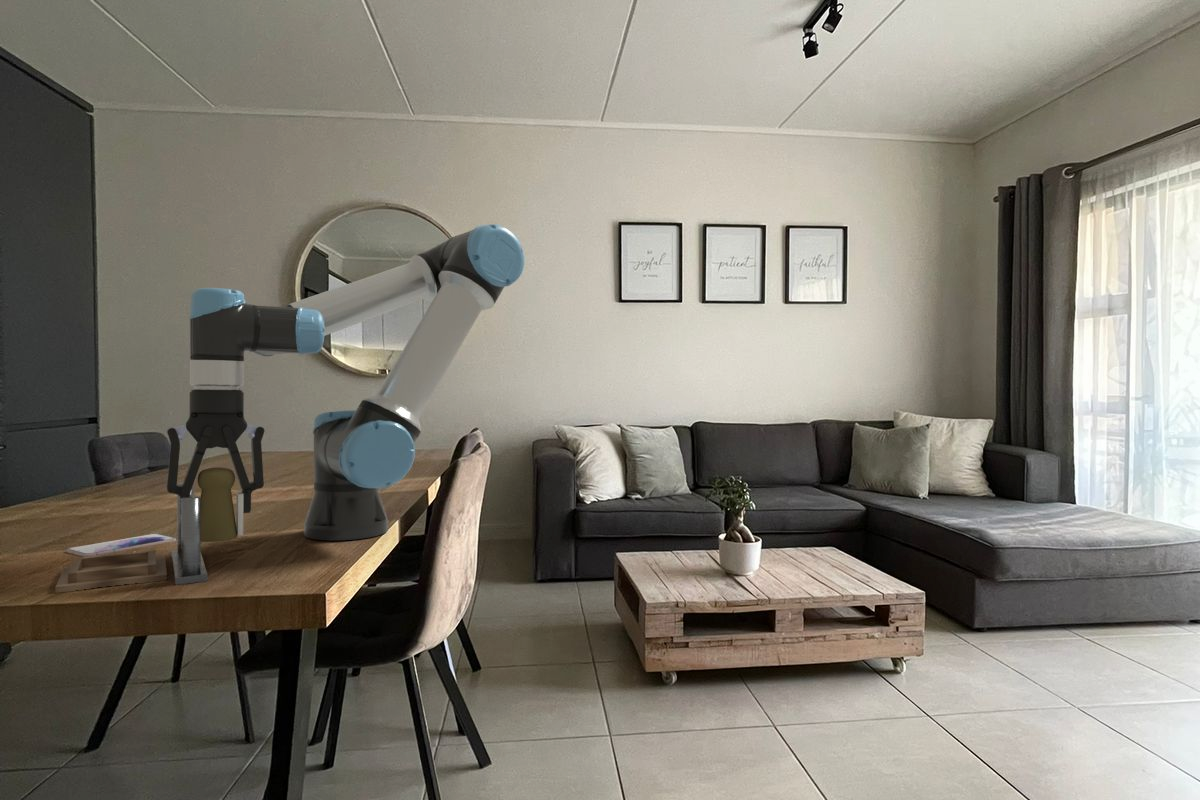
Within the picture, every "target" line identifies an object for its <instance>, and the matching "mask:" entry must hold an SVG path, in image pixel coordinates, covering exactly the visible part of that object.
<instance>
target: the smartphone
mask: <svg viewBox="0 0 1200 800" xmlns="http://www.w3.org/2000/svg"><path fill="white" fill-rule="evenodd" d="M176 541H177V539H176V537H173V536H168V535H163V534H159V533H150V534H145V535H138V536H134V537H126V538H121V539H115V540H110V541H103V542H97V543H92V544H87V545H79V546H74V547H68V548H67V549H66V553H68V554H71V555H76V556H79V557H90V556H101V555H108V554H112V553H117V552H123V551H128V550H134V549H141V548H145V547H150V546H156V545H161V544H167V543H171V542H176Z"/></svg>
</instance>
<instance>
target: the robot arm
mask: <svg viewBox="0 0 1200 800" xmlns="http://www.w3.org/2000/svg"><path fill="white" fill-rule="evenodd" d="M523 251H524V250H523V246H522V244H521V243H520V240H519V239H518V238H517V236H516V235H515V234H514V233H513V232H512V231H511V230H510V229H508V228H506V227H504V226H502V225H498V224H495V223H494V224H481V225H477V227H474V228H473V229H471V230H469V231H466V232H463V233H461V234H457V235H455V236H452V237H451V238H449V239H446V240H445V241H444V242H441V243H440V244H437V245H436V246H434V247H432V248H430V249H428V250H426V251H423V252H421V253H417V254H415V255H413V256H411V258H410V261H409V262H408V263H405V264H402V265H399V266H396V267H393V268H391V269H387V270H384V271H381V272H379V273H376V274H373V275H370V276H366V277H364V278H362V279H358V280H355V281H353V282H350V283H346V284H344V285H342V286H338V287H335V288H332V289H330V290H326V291H323V292H321V293H318V294H315V295H311V296H309V297H306V298H302V299H300V300H297V301H294V302H290V303H288V304H287V305H284V306H271V305H270V306H269V305H255V304H251V303H246V302H247V301H246V300H245V295H244V293H243V292H242V291H241V290H237V289H229V288H222V287H221V288H220V287H203V288H202V287H201V288H196V290H194V291H193V292H192V293H191V300H190V314H189V315H190V316H189V319H188V320H189V355H190V356H189V385H190V386H192V387H193V389H191V391H189V414H188V415H189V416H188V419H187V421H186V422H185V424H184V425H183V424H181V425H179V426H176V427H170V426H169V427H168V428H166V429H167V430H166V432H167V433H166V434H167V435H168V439H169V442H170V446H169V456H168V457H169V458H168V467H167V468H168V469H167V482H166V490H167V492H168V493H169V494H174V495H176V496H177V495H179V496H180V514H181V498H184V497H196V495H195V494H194V495H190V492H191V489H192V486H193V483H194V484H195V481H196V478H197V476H198V471H199V470H200V467H201V464H202V461H203V459H204V456H205V454H206V451H207V449H213V448H222V449H227V452H228V454H229V456H230V457H229V458H230V460H231V462H232V465H233V468H234V471H235V474H236V476H237V480H238V483H239V486H240V488H241V491H237V492H236V494H235V495H236V503H235V504H236V505H235V507H236V511H235V513H236V514H235V516H236V517H235V522H236V529H237V536H244V514H250V513H251V510H252V493H253V492H254V491H256V490H258V489H262V488H263V487H264V484H265V483H264V481H265V479H264V468H263V467H264V465H263V464H264V463H263V449H262V439H263V438H264V435H265V434H264V433H265V428H264V427H262V426H261V425H257V426H256V425H252V424H248V423H247V420H246V419H245V416H244V408H245V405H244V404H245V403H244V401H245V395H244V394H245V392H244V391H243V390H241V388H240V387H243V386H244V385H245V362H244V361H245V357H244V356H245V352H250V353H251V352H252V353H253V354H256V355H259V356H262V357H271V356H272V357H273V356H275V355H284V354H297V355H304V354H305V355H307V354H313V355H314V354H315V355H316V354H318V353H319V352H320V351H321V350H322V348H323V346H324V341H325V336H328V335H331V334H333V333H335V332H339V331H342V330H344V329H347V328H349V327H352V326H355V325H357V324H360V323H362V322H365V321H369V320H371V319H374V318H376V317H379V316H382V315H385V314H387V313H390V312H392V311H395V310H398V309H400V308H401V309H402V308H404V307H407V306H409V305H412V304H414V303H417V302H420V301H422V300H425V301H427V302H428V303H429V302H431V303H430V305H429V306H428V308H427V310H426V311H425V313H424V315H422V318H421V319H420V321H419V323H418V324H417V326H416V327H415V329H414V331H413V333H412V334H411V336H410V337H409V339H408V340H407V342H406V344H405V346H404V347H403V349H402V351H401V353H400V354H399V356H398V358H397V359H396V361H395V363H394V364H393V366H392V368H391V369H390V371H389V372H388V374H387V376H386V377H385V379H384V380H383V382H382V384H381V386H380V387H379V389H378V391H377V392H376V393H375V394H374V395H372V396H368V397H365V398H363V399H362V400H361V402H360V404H359V405H358V407H357V408H356V410H355V409H354V410H353V409H352V410H337V411H326V412H322V413H319V414H317V415H316V416H315V418H314V420H313V429H312V435H313V496H312V499H311V502H310V504H309V509H308V511H307V514H306V517H305V520H304V523H303V535H304V537H306V538H308V539H311V540H316V541H317V540H319V541H348V540H349V541H350V540H361V539H367V538H373V537H378V536H380V535H384V534H387V532H388V531H389V522H388V521H389V520H388V516H387V513H386V509H385V507H384V504H383V500H382V498H381V496H380V491H379V489H383V488H388V487H390V486H393V485H396V484H397V483H399V482H400V481H401V480H402V479H404V477H405V476H407V474H408V473H409V472H410V470H411V469H412V467H413V463H414V461H415V457H416V450H415V444H416V443H417V442H416V441H417V440H418V438H419V437H420V434H421V433H422V426H421V423H420V417H421V415H422V414H423V412H424V410H425V409H426V407H427V405H428V404H429V402H430V400H431V399H432V396H433V395H434V393H435V392H436V389H437V388H438V387H439V384H440V383H441V381H442V379H443V377H444V376H445V374H446V372H447V371H448V369H449V367H450V365H451V364H452V362H453V360H454V358H455V357H456V355H457V353H458V352H459V351H460V349H461V346H462V345H463V343H464V341H465V340H466V338H467V336H468V335H469V333H470V331H471V329H472V328H473V326H474V324H475V322H476V320H477V319H478V317H479V315H480V314H481V312H482V311H485V310H489V309H492V308H493V307H494V306H495V304H496V302H497V301H498V299H499V297H500V296H501V294H502V292H503V290H504V289H505V287H509V286H511V285H513V283H515V282H516V281H518V279H519V278H520V277H521V276H522V274H523V271H524V267H525V254H524V252H523ZM245 431H246V432H247V437H248V438H249V439H251V440H250V446H251V462H252V475H253V481H249V477H248V475H247V472H246V469H245V466H244V464H243V463H244V462H243V460H242V457H241V455H240V451H239V448H238V446H237V441H238V440H239V438H240V437H241V436H242V435H243V433H245ZM186 432H188V433H189V434H190V435H191V436H192V438H193V439H194V440H195V441H196V446H195V449H194V451H193V454H192V458H191V460H190V463H189V466H188V468H187V471H186V474H185V477H184V479H183V481H182V483H183V484H182V486H179V485H177V484H178V474H179V463H180V462H179V461H180V453H181V452H180V449H181V445H180V444H181V442H180V441H183V440H184V438H185V433H186Z"/></svg>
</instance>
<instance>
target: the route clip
mask: <svg viewBox="0 0 1200 800" xmlns="http://www.w3.org/2000/svg"><path fill="white" fill-rule="evenodd" d="M182 484H183V482H179V483H178V482H177V485H179V486H182ZM190 495H195V482H194V483H193V486H192V489H191V492H190ZM200 498H201V496H195V497H184V498H181V514H180V496H179V495H177V494H176V504H177V506H176V507H177V508H176V509H177V510H176V511H177V512H176V513H177V514H176V516H177V517H176V518H177V519H176V520H177V521H176V522H177V523H176V524H177V525H176V526H177V528H176V529H177V532H176V534H177V539H176V541H177V549H171V561H172V568H173V569H172V570H173V575H174V584H176V585H175V586H177V585H178V584H179V585H186V584H194V583H195V584H196V583H203V582H208V581H209V580H208V571H207V568H206V565H205V562H204V558H203V555H202V552H201V542H200Z"/></svg>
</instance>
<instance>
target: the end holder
mask: <svg viewBox="0 0 1200 800" xmlns="http://www.w3.org/2000/svg"><path fill="white" fill-rule="evenodd" d="M156 554H157V553H156V550H155V549H153V550H144V551H136V552H135V551H133V552H122V553H113V554H112V553H110V554H101V555H96V556H90V557H83V556H79V557H74V558H73V561H72V563H71V565H67V566H64V567H63V570H62V572H61V573H60V576H59V578H58V580H57V583H56V585H55V591H54V592H55V594H59V593H60V594H61V593H68V592H76V590H78V591H84V589H86V590H92V589H91V588H95V589H98V588H97V587H103V588H107V587H106V586H112V587H116V586H115V585H121V586H125V585H124V584H129V585H136V584H135V583H138V584H144V583H145V584H146V583H153V582H155V583H156V582H163V581H167V580H168V572H167V564H166V563H167V562H166V556H165V555H163V556H157V555H156Z"/></svg>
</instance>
